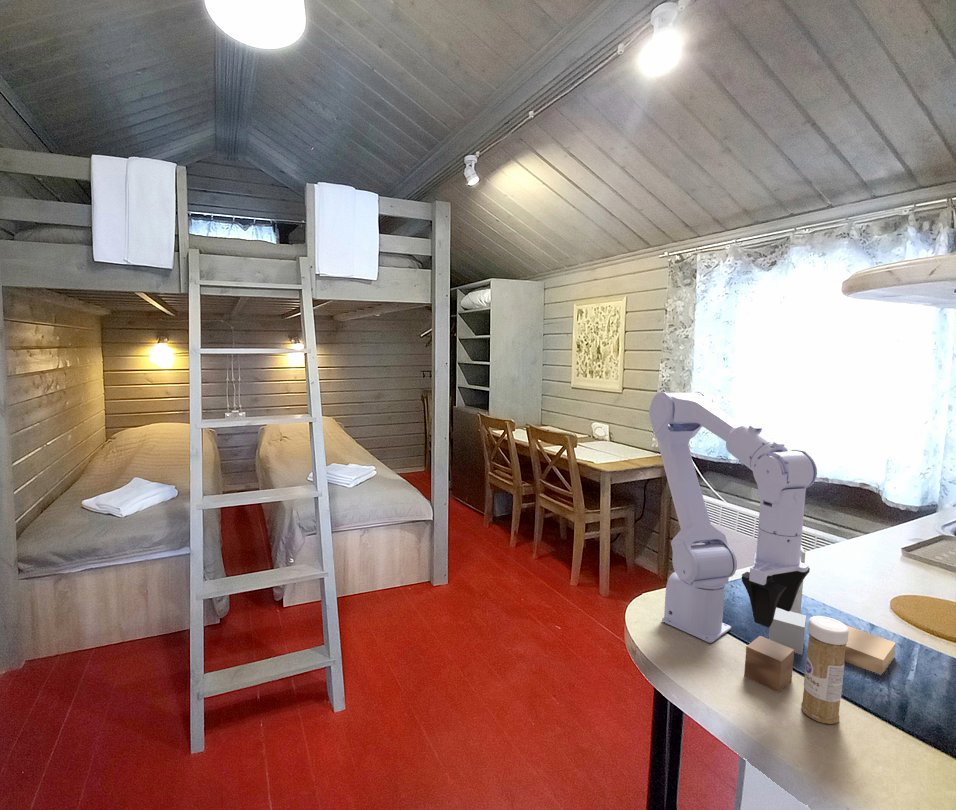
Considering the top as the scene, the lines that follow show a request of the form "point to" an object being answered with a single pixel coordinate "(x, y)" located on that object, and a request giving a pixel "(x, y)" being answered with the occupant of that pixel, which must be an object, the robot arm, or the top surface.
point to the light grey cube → (788, 629)
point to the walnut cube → (769, 663)
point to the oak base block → (868, 650)
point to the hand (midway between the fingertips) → (772, 616)
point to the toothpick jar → (824, 669)
